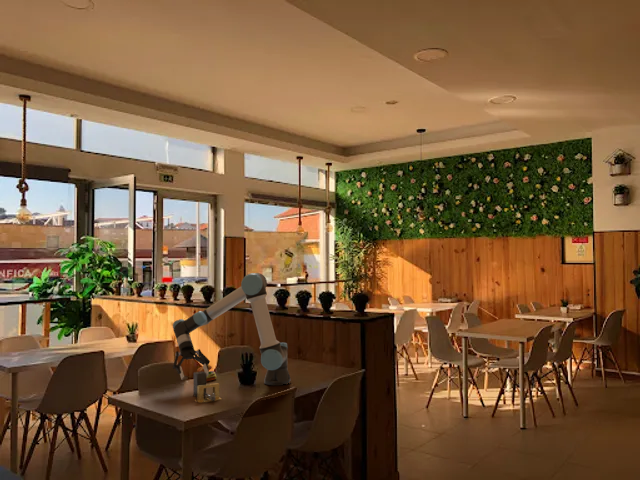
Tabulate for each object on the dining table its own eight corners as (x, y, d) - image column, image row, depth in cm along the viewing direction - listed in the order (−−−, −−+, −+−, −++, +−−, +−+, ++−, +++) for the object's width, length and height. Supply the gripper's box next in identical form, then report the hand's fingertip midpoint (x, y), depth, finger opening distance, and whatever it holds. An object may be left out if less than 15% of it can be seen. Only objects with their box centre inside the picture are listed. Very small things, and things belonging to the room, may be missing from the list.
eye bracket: (216, 397, 279) (216, 382, 279) (221, 399, 274) (221, 384, 274) (194, 400, 272) (194, 385, 272) (199, 403, 267) (199, 387, 267)
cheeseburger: (217, 381, 316) (213, 364, 316) (199, 386, 314) (195, 369, 314) (217, 377, 326) (213, 361, 326) (199, 382, 324) (195, 366, 324)
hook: (202, 394, 285) (202, 371, 286) (218, 402, 268) (218, 378, 269) (193, 395, 282) (193, 372, 283) (209, 403, 265) (209, 379, 266)
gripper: (204, 346, 307) (215, 377, 294) (161, 350, 293) (170, 383, 280) (208, 338, 303) (219, 369, 290) (164, 342, 289) (174, 375, 276)
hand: (195, 376), depth 285 cm, fingers open, 13 cm apart
